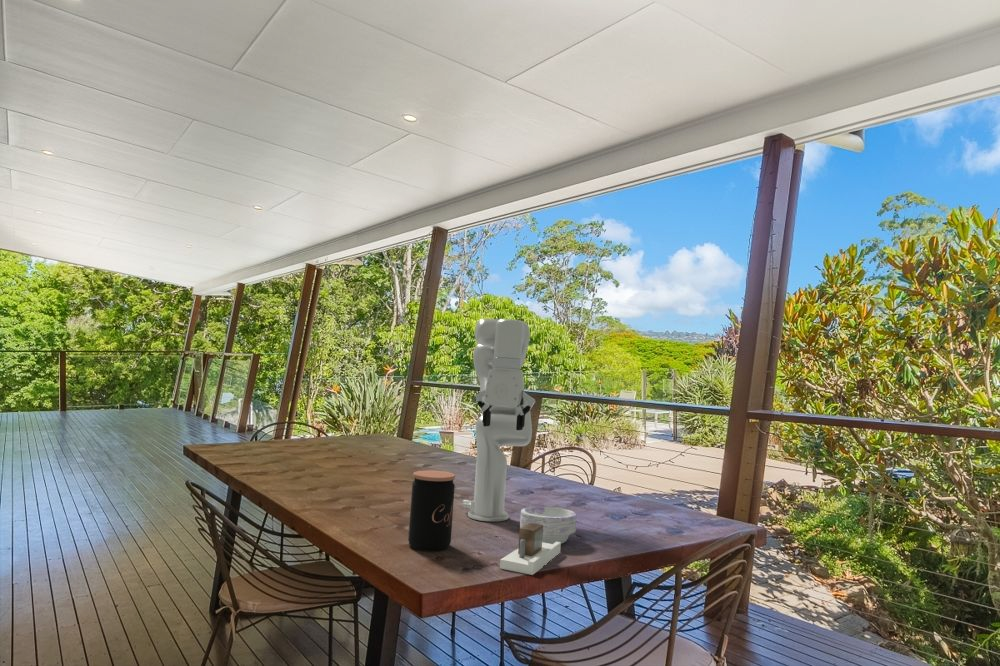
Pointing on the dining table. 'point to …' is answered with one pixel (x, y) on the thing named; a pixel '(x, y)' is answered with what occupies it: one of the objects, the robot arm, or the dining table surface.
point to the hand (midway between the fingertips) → (502, 427)
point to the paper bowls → (550, 522)
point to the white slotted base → (529, 558)
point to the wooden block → (531, 538)
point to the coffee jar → (431, 510)
